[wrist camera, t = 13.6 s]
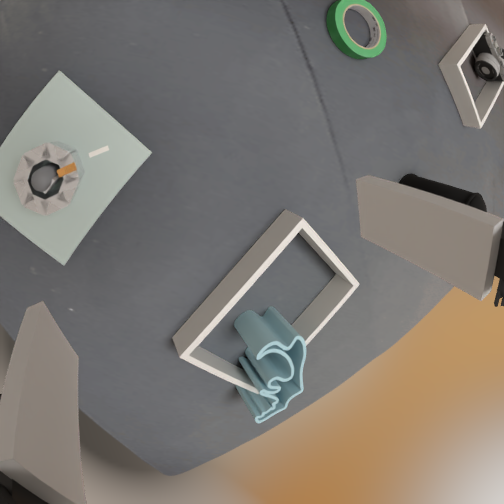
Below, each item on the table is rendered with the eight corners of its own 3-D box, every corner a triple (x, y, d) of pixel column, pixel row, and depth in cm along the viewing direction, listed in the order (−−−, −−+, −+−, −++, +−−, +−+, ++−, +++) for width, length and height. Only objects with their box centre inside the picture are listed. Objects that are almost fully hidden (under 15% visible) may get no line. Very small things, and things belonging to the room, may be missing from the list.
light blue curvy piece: (281, 373, 62) (305, 403, 54) (235, 390, 58) (255, 424, 50) (277, 299, 54) (306, 328, 46) (221, 317, 51) (244, 351, 43)
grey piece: (40, 210, 33) (28, 225, 27) (21, 157, 29) (5, 163, 24) (91, 187, 34) (86, 198, 29) (73, 133, 31) (65, 133, 26)
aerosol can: (413, 165, 56) (500, 189, 39) (424, 195, 60) (504, 224, 43) (389, 191, 56) (479, 223, 39) (403, 221, 60) (484, 257, 43)
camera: (459, 43, 51) (493, 43, 43) (467, 27, 51) (500, 26, 42) (481, 92, 59) (513, 96, 51) (489, 73, 59) (519, 76, 50)
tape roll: (327, -10, 37) (337, -14, 35) (377, 14, 42) (388, 12, 40) (322, 47, 41) (332, 44, 39) (373, 67, 46) (384, 66, 43)
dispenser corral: (172, 337, 48) (179, 357, 44) (285, 209, 48) (302, 218, 44) (247, 377, 57) (258, 394, 53) (342, 272, 58) (359, 284, 53)
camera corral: (438, 64, 50) (456, 64, 46) (469, 24, 50) (485, 23, 46) (463, 125, 59) (480, 128, 55) (491, 78, 59) (505, 79, 55)
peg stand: (-23, 190, 29) (-54, 207, 21) (61, 72, 29) (46, 56, 21) (65, 261, 37) (55, 295, 29) (150, 151, 37) (161, 157, 29)
